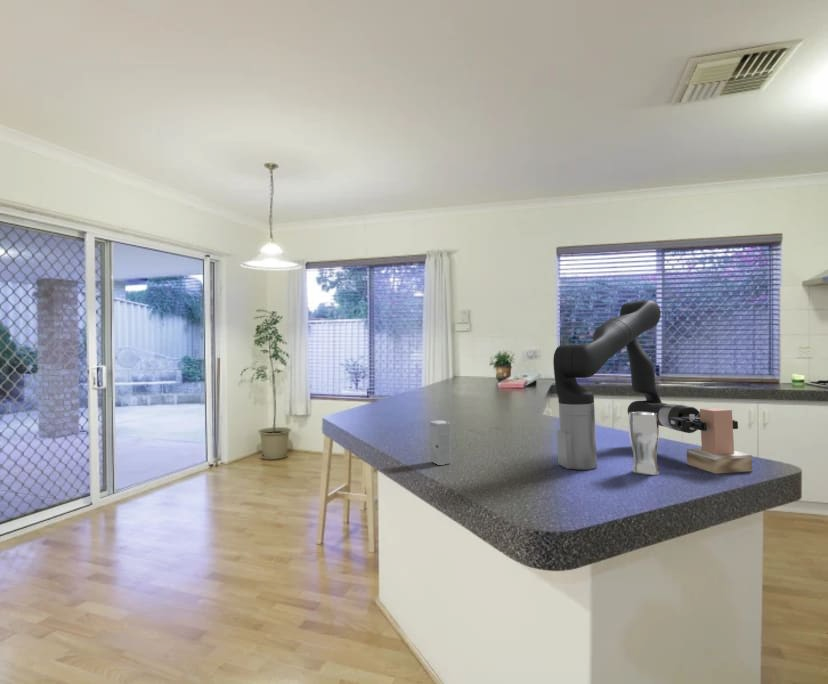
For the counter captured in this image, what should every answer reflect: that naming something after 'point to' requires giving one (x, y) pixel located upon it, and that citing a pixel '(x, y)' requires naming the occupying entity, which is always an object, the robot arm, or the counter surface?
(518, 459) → the counter surface
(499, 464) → the counter surface
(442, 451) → the skincare box
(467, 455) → the counter surface
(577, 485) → the counter surface
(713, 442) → the pillar
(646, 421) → the beer glass
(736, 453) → the base slab
